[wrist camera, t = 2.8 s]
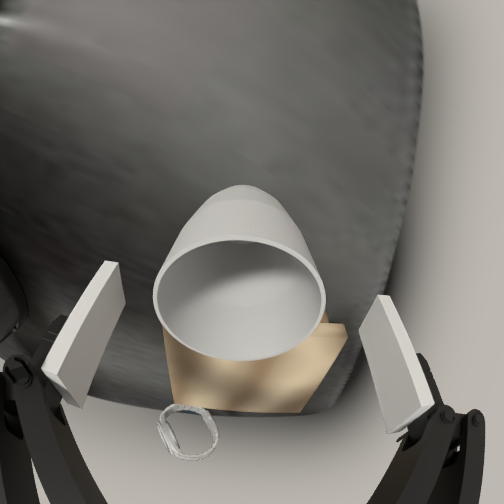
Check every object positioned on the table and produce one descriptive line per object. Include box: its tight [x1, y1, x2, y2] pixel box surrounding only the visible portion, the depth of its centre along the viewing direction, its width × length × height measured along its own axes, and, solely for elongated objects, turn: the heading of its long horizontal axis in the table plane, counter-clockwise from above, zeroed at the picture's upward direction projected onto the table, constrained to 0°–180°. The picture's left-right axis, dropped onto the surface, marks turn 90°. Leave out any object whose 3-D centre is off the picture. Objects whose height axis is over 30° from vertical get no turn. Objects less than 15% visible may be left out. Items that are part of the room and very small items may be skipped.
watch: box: [157, 404, 219, 461], centre depth 31 cm, size 6×8×11 cm
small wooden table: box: [162, 310, 348, 413], centre depth 26 cm, size 14×14×6 cm
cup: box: [153, 185, 326, 361], centre depth 17 cm, size 8×8×10 cm
